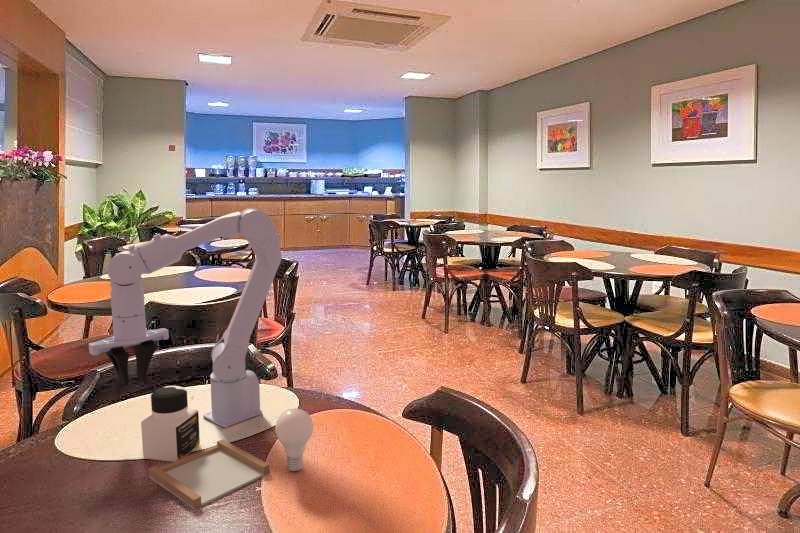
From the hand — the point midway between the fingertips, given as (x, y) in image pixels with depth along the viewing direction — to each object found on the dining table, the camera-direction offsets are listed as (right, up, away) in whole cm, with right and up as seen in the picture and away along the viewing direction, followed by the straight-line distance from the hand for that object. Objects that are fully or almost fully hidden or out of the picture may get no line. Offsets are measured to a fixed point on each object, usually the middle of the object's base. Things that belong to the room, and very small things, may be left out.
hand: (133, 381), depth 109 cm
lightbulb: (+34, -13, -13) cm, 39 cm away
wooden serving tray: (+20, -13, -15) cm, 28 cm away
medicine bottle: (+11, -12, -7) cm, 17 cm away
